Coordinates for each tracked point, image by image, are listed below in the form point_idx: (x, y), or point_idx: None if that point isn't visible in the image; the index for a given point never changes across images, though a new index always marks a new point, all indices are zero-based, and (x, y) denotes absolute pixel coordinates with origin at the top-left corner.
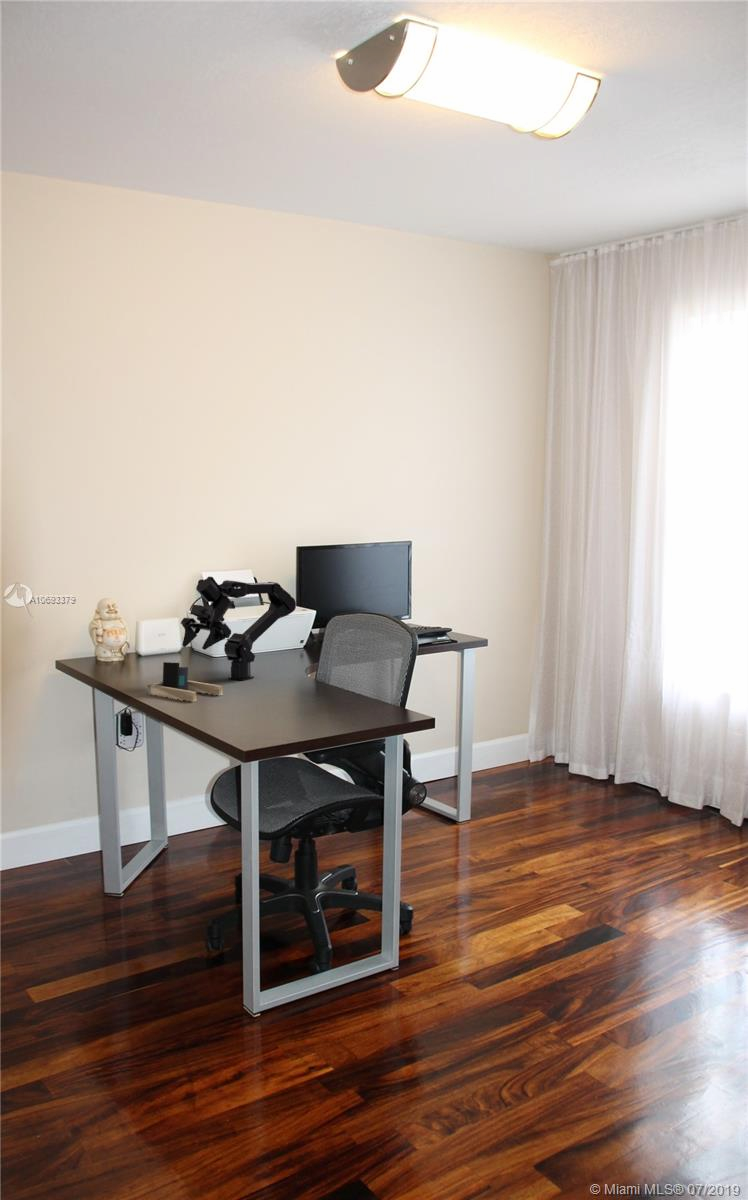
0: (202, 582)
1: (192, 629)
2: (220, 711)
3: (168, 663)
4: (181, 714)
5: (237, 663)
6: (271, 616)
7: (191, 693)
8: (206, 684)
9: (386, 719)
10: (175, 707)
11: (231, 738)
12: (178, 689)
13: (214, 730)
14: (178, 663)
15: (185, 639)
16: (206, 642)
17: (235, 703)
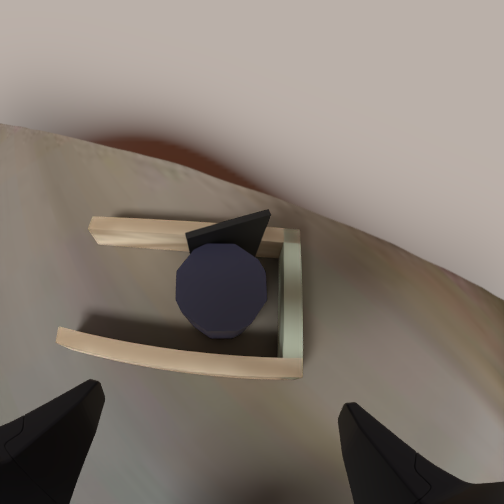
0: None
1: None
2: (27, 205)
3: (243, 220)
4: (84, 155)
5: None
6: None
7: (98, 218)
8: (112, 340)
9: None
10: (118, 179)
11: (7, 133)
12: (154, 227)
13: (24, 137)
14: (188, 234)
15: (368, 438)
16: (51, 400)
17: (15, 276)
